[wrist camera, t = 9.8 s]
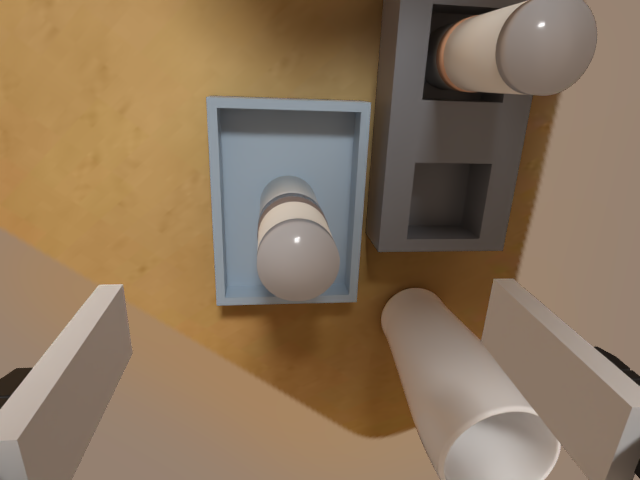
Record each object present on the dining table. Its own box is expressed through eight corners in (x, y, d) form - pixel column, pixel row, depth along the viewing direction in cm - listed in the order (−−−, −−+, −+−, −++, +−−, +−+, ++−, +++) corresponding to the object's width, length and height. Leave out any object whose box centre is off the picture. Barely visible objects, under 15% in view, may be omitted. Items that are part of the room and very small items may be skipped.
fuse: (423, 21, 28) (516, -13, 17) (484, 25, 28) (609, -6, 18) (415, 89, 29) (498, 95, 19) (474, 91, 30) (584, 98, 19)
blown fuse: (258, 174, 30) (255, 223, 20) (317, 175, 31) (343, 223, 20) (259, 230, 32) (256, 303, 21) (315, 230, 32) (338, 301, 22)
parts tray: (211, 95, 29) (206, 96, 26) (362, 100, 30) (371, 102, 28) (220, 289, 34) (216, 305, 31) (350, 287, 35) (356, 301, 32)
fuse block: (383, -4, 28) (401, -17, 24) (515, 4, 29) (552, -7, 25) (365, 232, 33) (378, 251, 30) (477, 232, 34) (502, 250, 31)
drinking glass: (385, 359, 38) (456, 525, 24) (359, 296, 35) (421, 439, 21) (458, 329, 37) (573, 479, 23) (437, 264, 35) (552, 386, 21)
